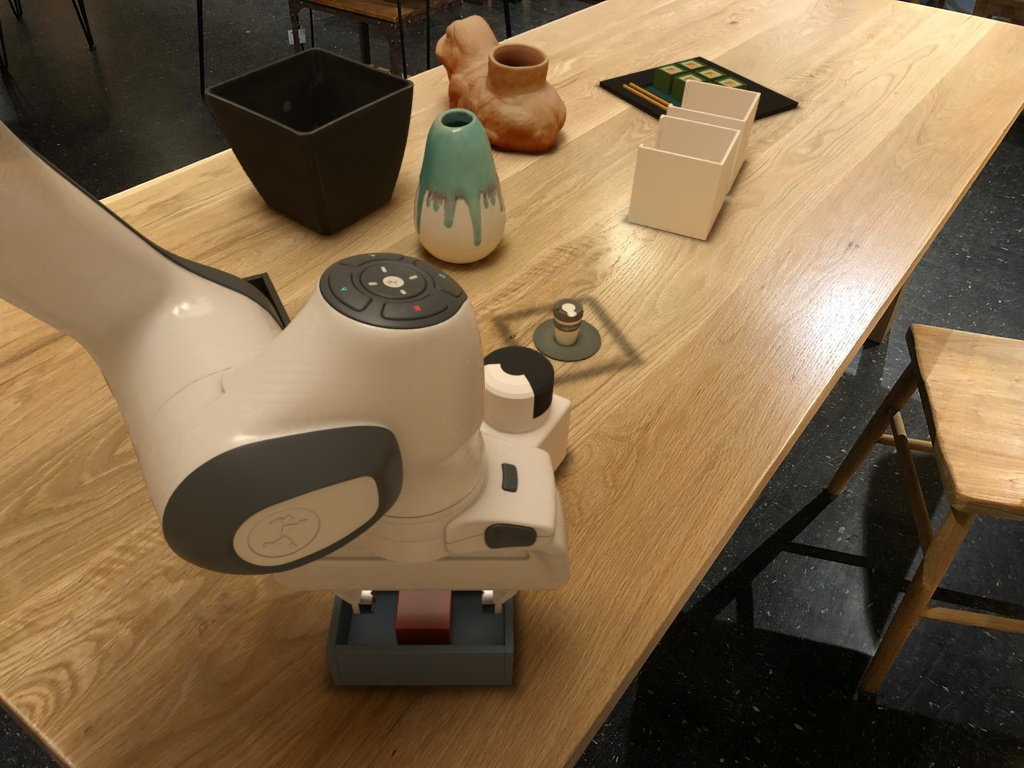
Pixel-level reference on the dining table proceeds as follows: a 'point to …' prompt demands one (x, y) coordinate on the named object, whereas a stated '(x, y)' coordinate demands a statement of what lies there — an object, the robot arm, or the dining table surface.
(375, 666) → the box
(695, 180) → the storage container
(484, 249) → the vase
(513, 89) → the ceramic vessel
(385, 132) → the flower pot
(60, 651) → the dining table surface
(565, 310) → the coffee cup
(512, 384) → the container
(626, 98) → the sushi
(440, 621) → the block
